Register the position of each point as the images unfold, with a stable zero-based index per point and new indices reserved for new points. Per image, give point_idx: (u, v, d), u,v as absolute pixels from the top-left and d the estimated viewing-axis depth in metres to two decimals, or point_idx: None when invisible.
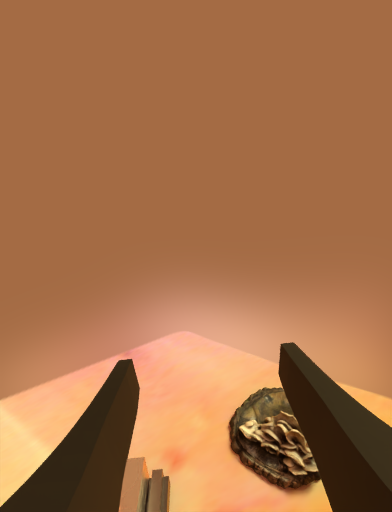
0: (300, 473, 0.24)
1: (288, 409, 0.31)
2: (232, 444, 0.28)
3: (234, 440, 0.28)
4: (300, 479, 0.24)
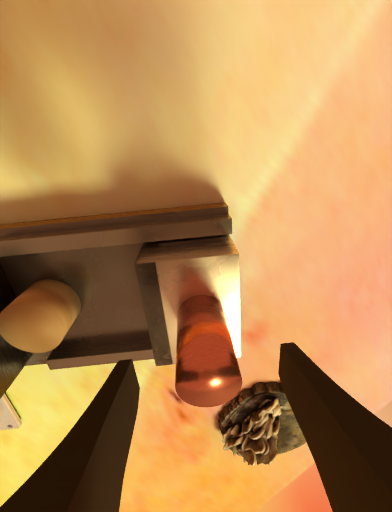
0: (223, 440, 0.26)
1: (285, 438, 0.27)
2: (261, 386, 0.25)
3: (264, 390, 0.24)
4: (222, 430, 0.27)
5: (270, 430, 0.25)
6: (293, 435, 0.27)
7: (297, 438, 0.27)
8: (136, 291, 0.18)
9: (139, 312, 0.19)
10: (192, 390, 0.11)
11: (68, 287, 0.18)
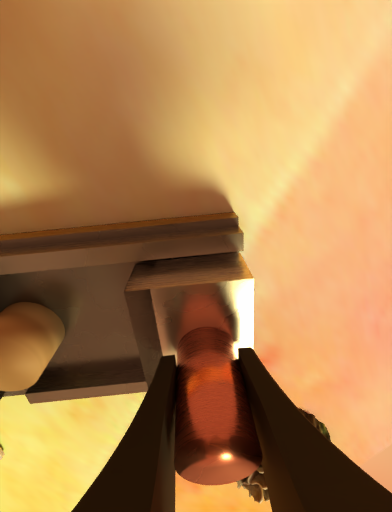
0: None
1: None
2: None
3: None
4: None
5: None
6: None
7: None
8: (129, 315, 0.16)
9: (133, 338, 0.16)
10: (196, 467, 0.08)
11: (49, 311, 0.15)
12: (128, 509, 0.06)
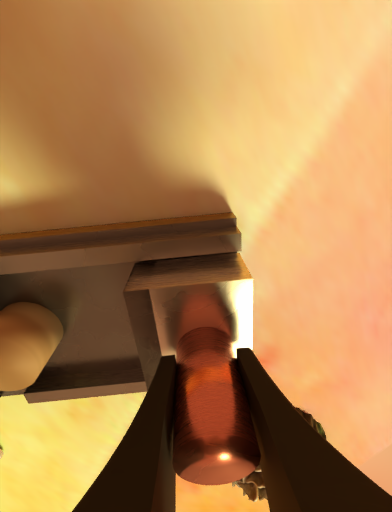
0: None
1: None
2: None
3: None
4: None
5: None
6: None
7: None
8: (127, 315, 0.16)
9: (131, 338, 0.16)
10: (195, 467, 0.08)
11: (47, 311, 0.15)
12: (128, 509, 0.06)
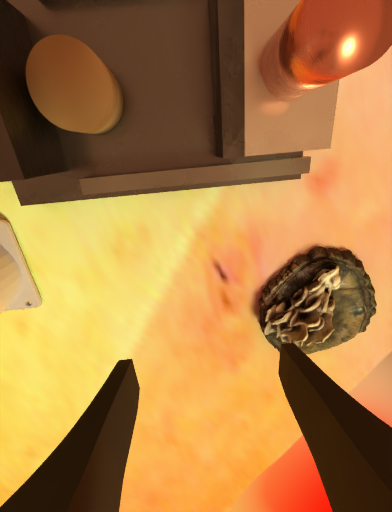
0: (267, 317, 0.22)
1: (333, 328, 0.23)
2: (321, 250, 0.21)
3: (324, 254, 0.21)
4: (263, 310, 0.23)
5: (327, 303, 0.21)
6: (343, 324, 0.23)
7: (347, 329, 0.23)
8: (193, 83, 0.15)
9: (193, 120, 0.15)
10: (333, 23, 0.07)
11: (110, 70, 0.14)
12: None
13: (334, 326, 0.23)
